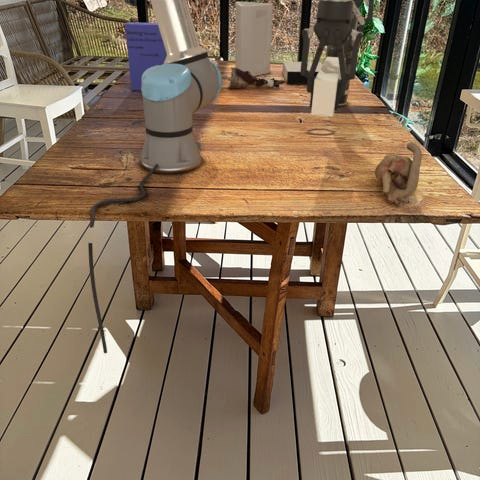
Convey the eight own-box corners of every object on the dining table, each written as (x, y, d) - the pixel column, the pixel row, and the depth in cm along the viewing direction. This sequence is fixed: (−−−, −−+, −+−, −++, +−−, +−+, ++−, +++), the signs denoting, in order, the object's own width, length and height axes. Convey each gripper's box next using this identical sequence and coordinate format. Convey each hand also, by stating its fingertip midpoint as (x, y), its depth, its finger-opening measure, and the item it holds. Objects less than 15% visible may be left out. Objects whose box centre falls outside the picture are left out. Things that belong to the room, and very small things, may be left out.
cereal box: (177, 88, 189) (174, 22, 177) (175, 91, 185) (172, 24, 173) (134, 87, 190) (128, 21, 178) (131, 90, 186) (124, 23, 174)
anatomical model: (387, 195, 117) (397, 211, 103) (362, 171, 116) (368, 184, 102) (428, 158, 112) (444, 169, 98) (402, 132, 112) (415, 140, 97)
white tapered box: (273, 76, 210) (276, 6, 196) (239, 77, 209) (240, 6, 194) (266, 67, 226) (268, 2, 212) (235, 67, 225) (235, 1, 210)
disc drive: (287, 84, 198) (287, 71, 196) (281, 72, 218) (282, 61, 215) (329, 84, 199) (330, 72, 196) (320, 72, 218) (321, 61, 216)
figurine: (210, 87, 179) (288, 95, 182) (212, 65, 176) (291, 73, 180) (208, 84, 201) (278, 91, 205) (210, 64, 198) (280, 71, 202)
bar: (332, 116, 111) (337, 81, 107) (311, 114, 112) (314, 79, 108) (341, 88, 134) (345, 57, 130) (323, 86, 135) (326, 56, 131)
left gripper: (379, 0, 104) (363, 106, 116) (297, -4, 107) (289, 100, 119) (379, 3, 97) (361, 115, 109) (291, -2, 101) (283, 108, 113)
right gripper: (378, -30, 121) (368, 38, 130) (322, -31, 124) (316, 36, 132) (380, -29, 115) (369, 42, 124) (320, -31, 117) (314, 40, 126)
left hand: (323, 107), depth 114 cm, fingers closed on bar, 5 cm apart
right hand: (341, 39), depth 128 cm, fingers open, 8 cm apart
